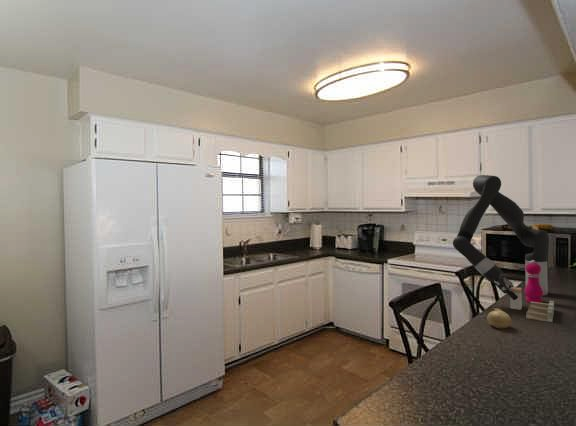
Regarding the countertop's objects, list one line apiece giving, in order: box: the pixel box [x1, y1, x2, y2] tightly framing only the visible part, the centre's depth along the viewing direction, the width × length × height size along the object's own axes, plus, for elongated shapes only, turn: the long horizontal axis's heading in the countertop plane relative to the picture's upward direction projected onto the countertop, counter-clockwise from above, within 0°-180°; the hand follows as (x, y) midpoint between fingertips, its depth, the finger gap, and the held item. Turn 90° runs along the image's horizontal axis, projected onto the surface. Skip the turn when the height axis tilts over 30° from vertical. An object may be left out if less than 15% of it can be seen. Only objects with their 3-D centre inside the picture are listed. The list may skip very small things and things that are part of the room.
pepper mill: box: [524, 260, 543, 303], centre depth 164 cm, size 7×7×20 cm
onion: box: [486, 307, 512, 330], centre depth 133 cm, size 8×8×7 cm
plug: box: [509, 286, 523, 311], centre depth 155 cm, size 4×4×9 cm
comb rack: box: [525, 300, 555, 323], centre depth 146 cm, size 18×8×4 cm, turn 140°
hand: (517, 296), depth 155 cm, fingers open, 8 cm apart
